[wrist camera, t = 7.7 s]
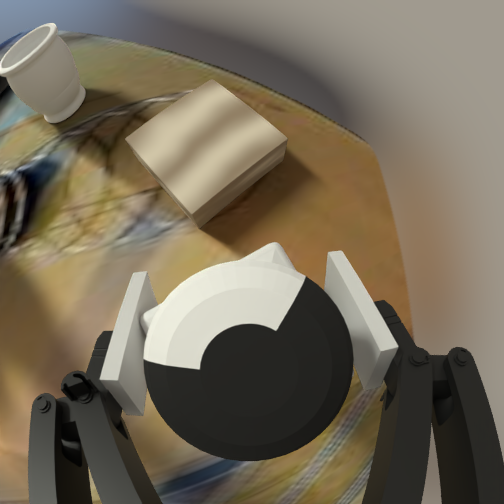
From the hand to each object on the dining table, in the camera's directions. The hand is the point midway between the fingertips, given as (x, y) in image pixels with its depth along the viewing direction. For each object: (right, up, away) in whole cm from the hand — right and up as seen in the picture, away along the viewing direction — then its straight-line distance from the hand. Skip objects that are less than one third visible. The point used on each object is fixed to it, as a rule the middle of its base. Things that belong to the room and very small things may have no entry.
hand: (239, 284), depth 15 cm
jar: (-30, +26, +22) cm, 46 cm away
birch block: (-5, +13, +20) cm, 24 cm away
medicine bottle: (0, -4, +4) cm, 6 cm away
